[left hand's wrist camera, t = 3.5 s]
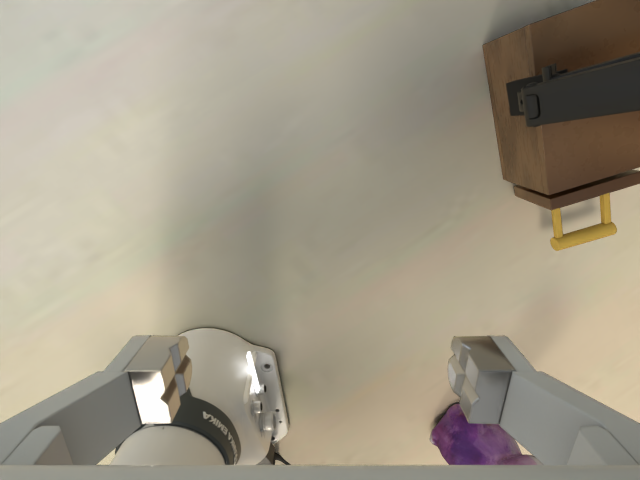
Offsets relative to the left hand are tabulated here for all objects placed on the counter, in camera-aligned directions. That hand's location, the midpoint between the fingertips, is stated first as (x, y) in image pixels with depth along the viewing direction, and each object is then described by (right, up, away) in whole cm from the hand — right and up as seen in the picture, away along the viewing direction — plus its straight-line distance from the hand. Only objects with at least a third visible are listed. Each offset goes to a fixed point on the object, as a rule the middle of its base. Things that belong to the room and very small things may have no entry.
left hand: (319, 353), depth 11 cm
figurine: (+22, -23, +41) cm, 52 cm away
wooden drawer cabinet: (+23, +18, +26) cm, 40 cm away
